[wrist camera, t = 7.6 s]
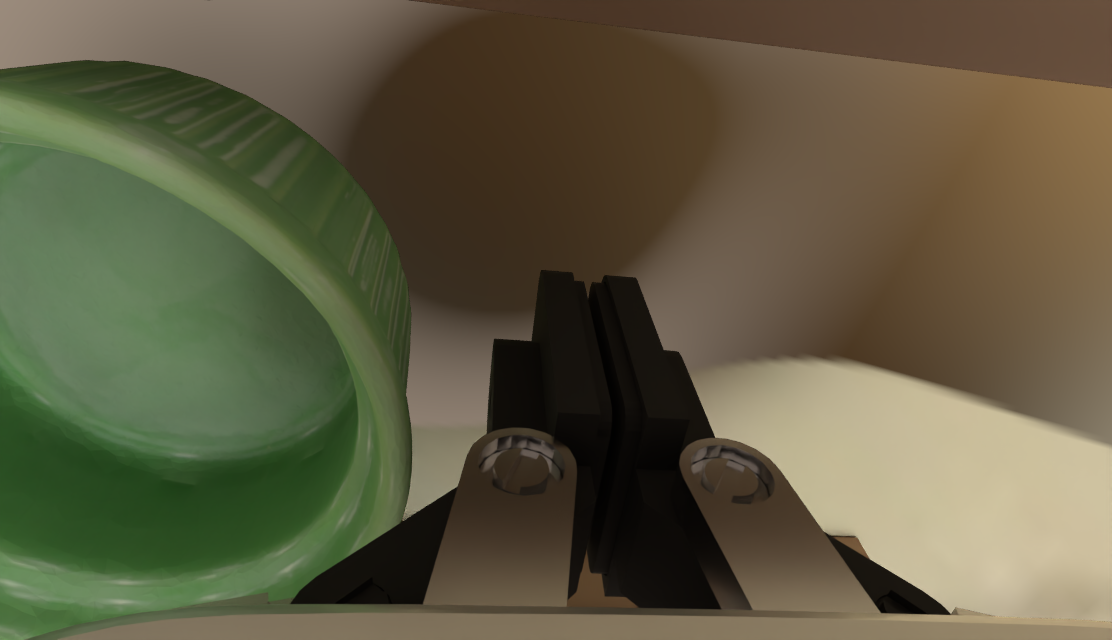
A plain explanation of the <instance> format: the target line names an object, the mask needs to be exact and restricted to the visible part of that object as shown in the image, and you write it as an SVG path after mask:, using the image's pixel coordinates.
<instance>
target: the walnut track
mask: <svg viewBox="0 0 1112 640" xmlns="http://www.w3.org/2000/svg"><path fill="white" fill-rule="evenodd" d="M411 1H420V2H427V3H435V4H443V5H452V6H459V7H467V8H475V9H484V10H491V11H500V12H507V13H515V14H523V15H531V16H539V17H547V18H555V19H563V20H571V21H579V22H587V23H595V24H604V25H611V26H619V27H628V28H636V29H644V30H651V31H659V32H667V33H675V34H683V35H691V36H699V37H707V38H716V39H723V40H731V41H739V42H748V43H755V44H763V45H771V46H779V47H787V48H795V49H803V50H811V51H819V52H827V53H835V54H844V55H851V56H860V57H867V58H875V59H883V60H891V61H899V62H907V63H915V64H923V65H931V66H939V67H947V68H955V69H963V70H971V71H980V72H988V73H995V74H1003V75H1011V76H1019V77H1027V78H1035V79H1044V80H1051V81H1059V82H1067V83H1075V84H1083V85H1092V86H1099V87H1107V88H1112V0H411ZM833 538H835V539H837V540H838V541H840V542H842V543H843V544H845V545H847V546H848V547H850V548H852V549H853V550H855V551H857V552H858V553H860V554H862V555H863V556H865V557H867V558H868V559H869V557H868V556H867V554H866V552H865V550H864V549H863V547H862V545H861V543H860V542H859V540H858V538H852V537H833ZM567 607H616V608H637V606H636V605H635V604H634V603H633V602H631V601H630V600H629V599H627V598H626V597H605V595H604V588H603V581H602V575H601V574H593V573H591V572H590V569H589V563H588V556H587V550H586V555H585V559H584V564H583V569H582V572H581V574H580V578H579V583H578V588H577V592H576V593H575V594H574V595H573V596H572V597H571V598H570V599H569V600H567Z"/></svg>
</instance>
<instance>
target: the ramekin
mask: <svg viewBox="0 0 1112 640" xmlns="http://www.w3.org/2000/svg"><path fill="white" fill-rule="evenodd" d="M410 332H411V307H410V302H409V290H408V284H407V280H406V276H405V274H404V271H403V268H402V265H401V262H400V256H399V252H398V250H397V247H396V245H395V243H394V241H393V239H392V237H391V234H390V232H389V230H388V228H387V225H386V224H385V222H384V220H383V219H382V217H381V216H380V214H379V213H378V211H377V209H376V208H375V206H374V204H373V202H372V201H371V199H370V198H369V196H368V195H367V193H366V192H365V191H364V190H363V188H362V187H361V186H360V185H359V184H358V183H357V181H356V180H355V179H354V178H353V177H352V176H351V174H349V172H348V171H347V170H346V169H345V168H344V167H343V165H342V164H341V163H340V162H339V161H338V160H337V159H336V158H335V157H334V156H333V155H332V154H331V153H329V151H327V150H326V149H325V148H324V147H323V146H322V145H320V144H319V143H318V142H317V141H316V140H315V139H313V138H312V137H311V136H310V135H308V134H307V133H306V132H304V131H303V130H302V129H300V128H299V127H298V126H296V125H295V124H294V123H292V122H291V121H290V120H288V119H286V118H285V117H283V116H282V115H280V114H278V113H276V112H274V111H273V110H271V109H270V108H268V107H266V106H264V105H263V104H261V103H259V102H258V101H256V100H254V99H252V98H250V97H248V96H246V95H244V94H242V93H239V92H237V91H234V90H232V89H230V88H227V87H225V86H223V85H220V84H218V83H216V82H213V81H211V80H208V79H205V78H201V77H198V76H193V75H190V74H187V73H183V72H180V71H177V70H174V69H170V68H166V67H160V66H154V65H147V64H140V63H135V62H129V61H110V62H106V61H90V60H83V61H71V62H62V63H53V64H44V65H36V66H26V67H17V68H8V69H0V640H24V639H28V638H31V637H35V636H38V635H42V634H45V633H48V632H52V631H55V630H59V629H62V628H66V627H69V626H73V625H77V624H82V623H87V622H93V621H98V620H103V619H109V618H114V617H119V616H125V615H130V614H135V613H141V612H151V611H160V610H166V609H172V608H178V607H184V606H190V605H195V604H201V603H207V602H213V601H219V600H225V599H231V598H237V597H242V596H248V595H254V594H260V593H266V592H268V594H269V601H276V600H282V599H288V598H293V597H295V596H296V595H297V593H298V592H299V591H300V590H301V589H302V588H303V587H304V586H305V585H307V584H308V583H309V582H310V581H311V580H313V579H314V578H315V577H316V576H318V575H320V574H321V573H323V572H324V571H326V570H327V569H329V568H330V567H332V566H334V565H335V564H337V563H338V562H340V561H341V560H343V559H345V558H346V557H348V556H349V555H351V554H352V553H354V552H356V551H357V550H359V549H360V548H362V547H363V546H365V545H367V544H368V543H370V542H371V541H373V540H374V539H376V538H378V537H379V536H381V535H382V534H384V533H385V532H387V531H389V530H390V529H392V528H393V527H395V526H396V525H398V524H400V522H401V520H402V517H403V514H404V510H405V507H406V504H407V499H408V494H409V489H410V481H411V471H412V434H411V423H410V417H409V410H408V403H407V397H406V388H407V377H408V366H409V354H410V334H411V333H410Z"/></svg>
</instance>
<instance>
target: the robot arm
mask: <svg viewBox="0 0 1112 640" xmlns="http://www.w3.org/2000/svg"><path fill="white" fill-rule="evenodd" d="M586 550H587V556H588V563H589V569H590V572H591V573H593V574H601V575H602V581H603V588H604V595H605V597H626V598H627V599H629V600H630V601H631V602H633V603H634V604H635V605H636V606H637V608H616V607H567V600H569V599H570V598H571V597H572V596H573V595H574V594H575V593H576V592H577V588H578V583H579V578H580V574H581V572H582V569H583V564H584V559H585V555H586ZM24 640H1112V622H1106V621H1092V620H1077V619H1048V618H1020V617H998V616H992V615H988V614H983V613H979V612H974V611H970V610H965V609H961V608H956V607H955V609H954V610H953V612H952V613H951V614H950V613H949V612H948V611H947V610H946V609H945V608H944V607H943V606H942V605H941V604H940V603H939V602H937V601H936V600H934V599H933V598H932V597H930V596H929V595H928V594H926V593H925V592H923V591H922V590H920V589H918V588H917V587H915V586H913V585H912V584H910V583H908V582H907V581H905V580H903V579H902V578H900V577H898V576H897V575H895V574H893V573H892V572H890V571H888V570H887V569H885V568H883V567H882V566H880V565H878V564H877V563H875V562H873V561H872V560H870V559H868V558H867V557H865V556H863V555H862V554H860V553H858V552H857V551H855V550H853V549H852V548H850V547H848V546H847V545H845V544H843V543H842V542H840V541H838V540H837V539H835V538H833V537H832V536H830V535H828V534H827V533H825V532H823V530H822V529H821V528H820V526H819V525H818V523H817V522H816V521H815V519H814V518H813V516H812V515H811V513H810V512H809V511H808V509H807V508H806V506H805V505H804V504H803V502H802V501H801V499H800V498H799V496H798V495H797V494H796V492H795V491H794V489H793V488H792V487H791V485H790V484H789V482H788V481H787V479H786V478H785V477H784V475H783V474H782V472H781V471H780V470H779V469H778V467H777V466H776V465H775V464H774V463H773V462H772V461H771V460H770V459H769V458H768V457H766V456H765V455H763V454H762V453H761V452H759V451H758V450H756V449H754V448H752V447H750V446H747V445H745V444H743V443H740V442H737V441H733V440H729V439H722V438H715V436H714V433H713V431H712V429H711V426H710V424H709V421H708V419H707V417H706V414H705V412H704V409H703V407H702V404H701V402H700V400H699V397H698V395H697V392H696V390H695V388H694V385H693V383H692V380H691V378H690V376H689V373H688V371H687V368H686V366H685V363H684V361H683V359H682V357H681V355H680V353H679V352H677V351H667V350H663V347H662V345H661V342H660V339H659V337H658V334H657V331H656V329H655V326H654V323H653V321H652V318H651V315H650V313H649V310H648V308H647V305H646V302H645V300H644V297H643V294H642V292H641V289H640V286H639V284H638V281H637V279H636V278H633V277H620V276H608V275H605V276H604V277H603V280H602V283H594V282H592V284H591V287H590V292H589V298H588V297H587V293H586V289H585V284H584V282H581V281H574V277H573V273H571V272H559V271H546V270H541V273H540V278H539V285H538V293H537V302H536V310H535V318H534V326H533V334H532V341H520V340H504V339H494V344H493V353H492V364H491V374H490V386H489V400H488V417H487V434H486V435H484V436H483V437H481V438H480V439H479V440H478V441H477V442H475V443H474V444H473V445H472V447H471V449H470V451H469V453H468V455H467V457H466V461H465V464H464V467H463V471H462V474H461V478H460V481H459V484H458V487H456V488H455V489H453V490H451V491H450V492H448V493H447V494H445V495H444V496H442V497H440V498H439V499H437V500H436V501H434V502H433V503H431V504H429V505H428V506H426V507H425V508H423V509H422V510H420V511H418V512H417V513H415V514H414V515H412V516H411V517H409V518H407V519H406V520H404V521H403V522H401V523H400V524H398V525H396V526H395V527H393V528H392V529H390V530H389V531H387V532H385V533H384V534H382V535H381V536H379V537H378V538H376V539H374V540H373V541H371V542H370V543H368V544H367V545H365V546H363V547H362V548H360V549H359V550H357V551H356V552H354V553H352V554H351V555H349V556H348V557H346V558H345V559H343V560H341V561H340V562H338V563H337V564H335V565H334V566H332V567H330V568H329V569H327V570H326V571H324V572H323V573H321V574H320V575H318V576H316V577H315V578H314V579H313V580H311V581H310V582H309V583H308V584H307V585H305V586H304V587H303V588H302V589H301V590H300V591H299V592H298V593H297V595H296V596H295V597H293V598H288V599H282V600H276V601H269V594H268V592H266V593H260V594H254V595H248V596H242V597H237V598H231V599H225V600H219V601H213V602H207V603H201V604H195V605H190V606H184V607H178V608H172V609H166V610H160V611H151V612H141V613H135V614H130V615H125V616H119V617H114V618H109V619H103V620H98V621H93V622H87V623H82V624H77V625H73V626H69V627H66V628H62V629H59V630H55V631H52V632H48V633H45V634H42V635H38V636H35V637H31V638H28V639H24Z"/></svg>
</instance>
